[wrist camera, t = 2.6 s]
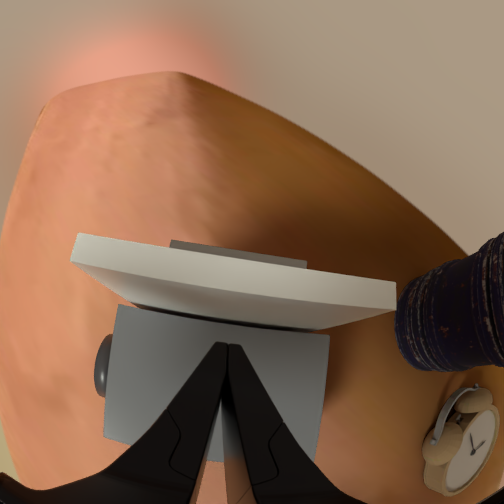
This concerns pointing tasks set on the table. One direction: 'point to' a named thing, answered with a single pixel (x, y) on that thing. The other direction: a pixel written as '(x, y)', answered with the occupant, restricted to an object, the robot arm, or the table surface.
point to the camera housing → (187, 359)
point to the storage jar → (455, 313)
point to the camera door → (230, 285)
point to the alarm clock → (460, 441)
